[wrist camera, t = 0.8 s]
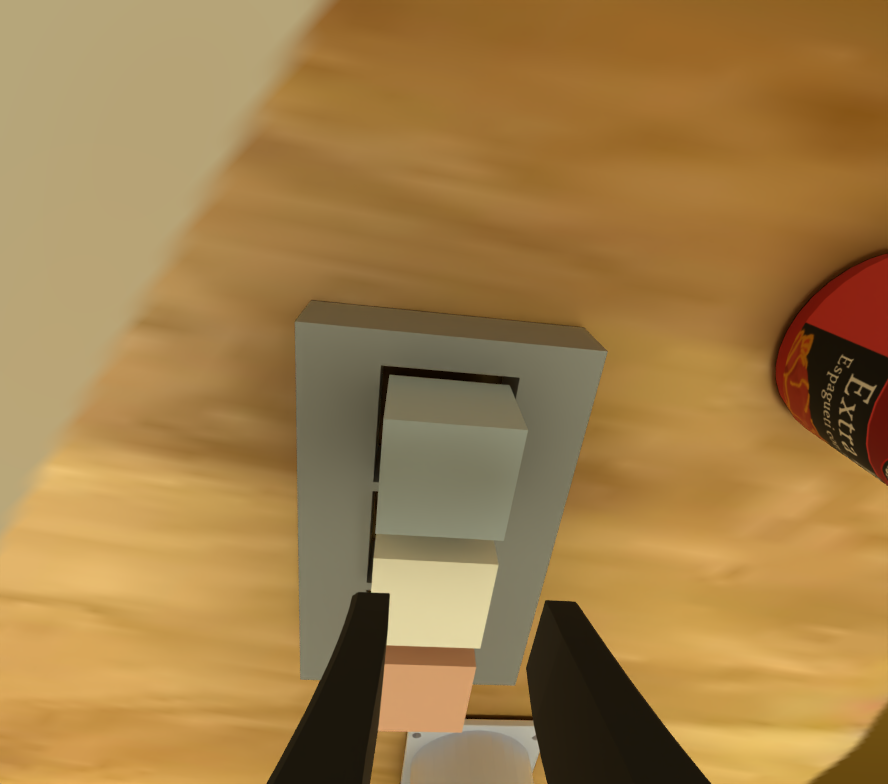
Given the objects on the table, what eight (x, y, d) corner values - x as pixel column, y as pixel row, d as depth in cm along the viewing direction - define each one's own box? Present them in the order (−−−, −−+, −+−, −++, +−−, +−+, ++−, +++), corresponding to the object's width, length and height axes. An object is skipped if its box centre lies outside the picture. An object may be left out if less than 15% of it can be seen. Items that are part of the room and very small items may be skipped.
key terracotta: (456, 662, 22) (461, 732, 19) (368, 659, 22) (361, 730, 19) (468, 599, 20) (476, 667, 18) (372, 595, 20) (365, 663, 17)
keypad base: (506, 638, 25) (514, 685, 23) (311, 631, 24) (300, 679, 22) (583, 327, 18) (607, 351, 16) (311, 300, 17) (294, 321, 15)
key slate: (490, 483, 18) (503, 540, 15) (381, 475, 17) (375, 533, 15) (509, 385, 16) (528, 430, 13) (389, 374, 16) (383, 419, 13)
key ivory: (471, 582, 20) (480, 648, 17) (374, 577, 20) (367, 644, 17) (486, 504, 18) (498, 564, 16) (380, 498, 18) (373, 558, 15)
